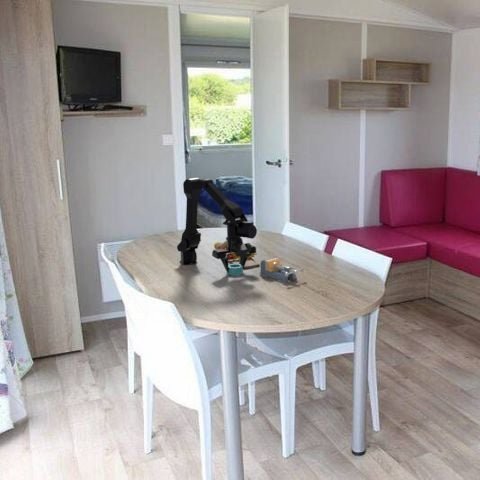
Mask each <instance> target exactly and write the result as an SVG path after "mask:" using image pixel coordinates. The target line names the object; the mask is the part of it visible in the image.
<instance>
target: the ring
mask: <svg viewBox="0 0 480 480" xmlns="http://www.w3.org/2000/svg"><path fill="white" fill-rule="evenodd" d="M228 268H229V271H228V272H227V271H226V274H228V275H229V276H240V275H242V274H243V273H244V269H243V265H241V264H229V265H228Z"/></svg>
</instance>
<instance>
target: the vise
mask: <svg viewBox="0 0 480 480" xmlns="http://www.w3.org/2000/svg"><path fill="white" fill-rule="evenodd" d="M259 264H260V266H259V267H260V272H259V277H264V278H265V277H268V278H272V279H275V280H277V282H278V283H287V282H288V281H289V280H288V279H290V280H296V279H297V278H298V277H297V274H298V272H304V271H305V268H304V267H300V269H296V268H293V267H291V266H288V265H287V266H284V265H283V264H282V263H281V261H280V259H279V258H278V257H277V258H276V257H270V258H267V259H263V260H261V261H260V263H259Z"/></svg>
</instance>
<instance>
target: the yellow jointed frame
mask: <svg viewBox="0 0 480 480" xmlns="http://www.w3.org/2000/svg"><path fill="white" fill-rule="evenodd" d="M243 244H245V242H243ZM227 246H228V243H227V240H226V239H225V240H224V241H223V242H219V241H218V242H215V243H214V245H213V247H214V250H216V249H222V250H224V251H226V250H227V249H226V247H227ZM254 246H255V245H254ZM255 247H256V248H257V246H255ZM227 257H228V258H229V260H228V261H233V260H239V257H238V256H236V254H229V255H227ZM250 258H255V253H252V255H251V256H249V257H248V259H250Z"/></svg>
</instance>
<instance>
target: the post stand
mask: <svg viewBox="0 0 480 480" xmlns="http://www.w3.org/2000/svg"><path fill="white" fill-rule="evenodd" d="M229 264H241V262H240V257H239V258H238V259H232V260H228V265H229ZM260 264H261V263H258V262H257V261H254V260H252V259H250V258H247V260H246V263H245V266H244V269H243V270H246V269H247V270H248V269H251V268H253V269H254V268H258V267H260Z"/></svg>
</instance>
